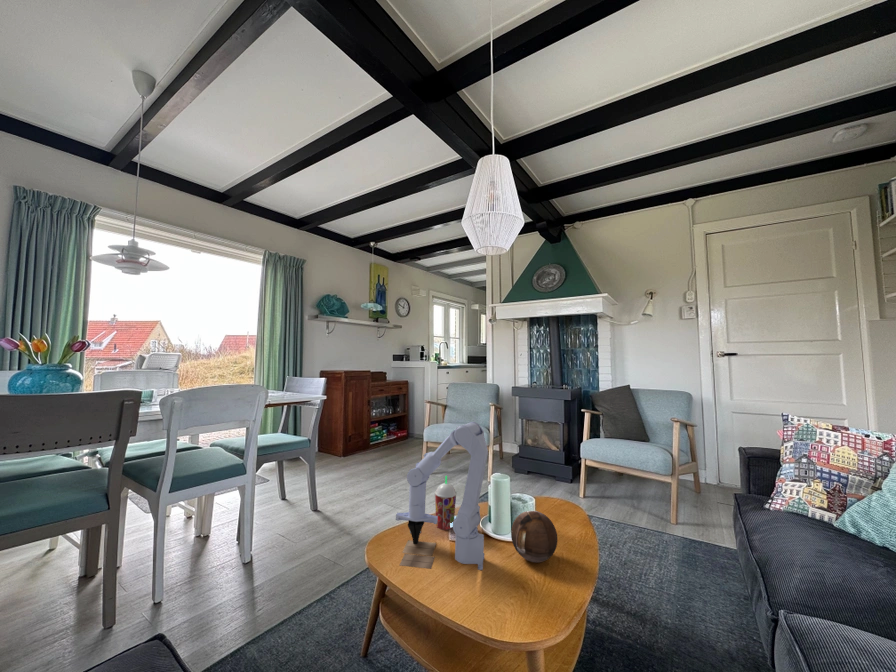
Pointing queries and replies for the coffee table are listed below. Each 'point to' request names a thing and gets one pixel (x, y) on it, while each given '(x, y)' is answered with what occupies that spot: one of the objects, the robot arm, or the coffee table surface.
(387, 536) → the coffee table surface
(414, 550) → the board
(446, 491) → the smoothie
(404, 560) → the laid board
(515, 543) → the wooden sphere
